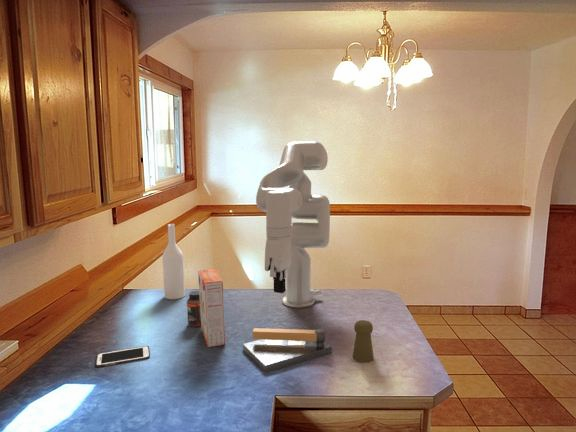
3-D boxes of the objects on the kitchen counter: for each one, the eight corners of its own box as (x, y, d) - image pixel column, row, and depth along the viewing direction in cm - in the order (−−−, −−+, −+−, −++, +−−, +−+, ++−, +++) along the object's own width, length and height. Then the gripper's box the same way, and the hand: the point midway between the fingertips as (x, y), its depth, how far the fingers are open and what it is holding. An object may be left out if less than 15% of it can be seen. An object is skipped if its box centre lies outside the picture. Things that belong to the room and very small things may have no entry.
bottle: (174, 300, 172) (171, 226, 167) (160, 297, 176) (156, 225, 172) (189, 294, 179) (185, 223, 174) (174, 291, 183) (171, 221, 178)
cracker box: (200, 330, 145) (197, 269, 141) (218, 327, 147) (215, 268, 143) (206, 348, 132) (203, 282, 128) (225, 345, 134) (223, 280, 130)
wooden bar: (325, 337, 130) (325, 329, 129) (325, 342, 127) (325, 333, 126) (254, 334, 132) (254, 326, 132) (252, 339, 129) (252, 331, 128)
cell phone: (150, 359, 126) (150, 356, 126) (95, 369, 121) (94, 365, 121) (149, 348, 133) (148, 345, 133) (97, 356, 128) (96, 353, 128)
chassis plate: (305, 334, 141) (305, 323, 140) (331, 352, 128) (331, 341, 128) (243, 350, 130) (242, 339, 130) (265, 372, 117) (265, 360, 117)
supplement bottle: (207, 320, 152) (206, 290, 151) (202, 327, 147) (201, 295, 145) (191, 320, 153) (189, 289, 151) (185, 327, 147) (184, 295, 145)
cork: (360, 365, 121) (361, 327, 119) (348, 355, 126) (348, 320, 125) (377, 359, 124) (378, 323, 122) (364, 351, 129) (365, 316, 127)
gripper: (278, 227, 137) (278, 283, 139) (256, 235, 123) (257, 298, 126) (300, 229, 134) (300, 286, 136) (280, 237, 120) (280, 301, 123)
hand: (279, 291), depth 131 cm, fingers closed
